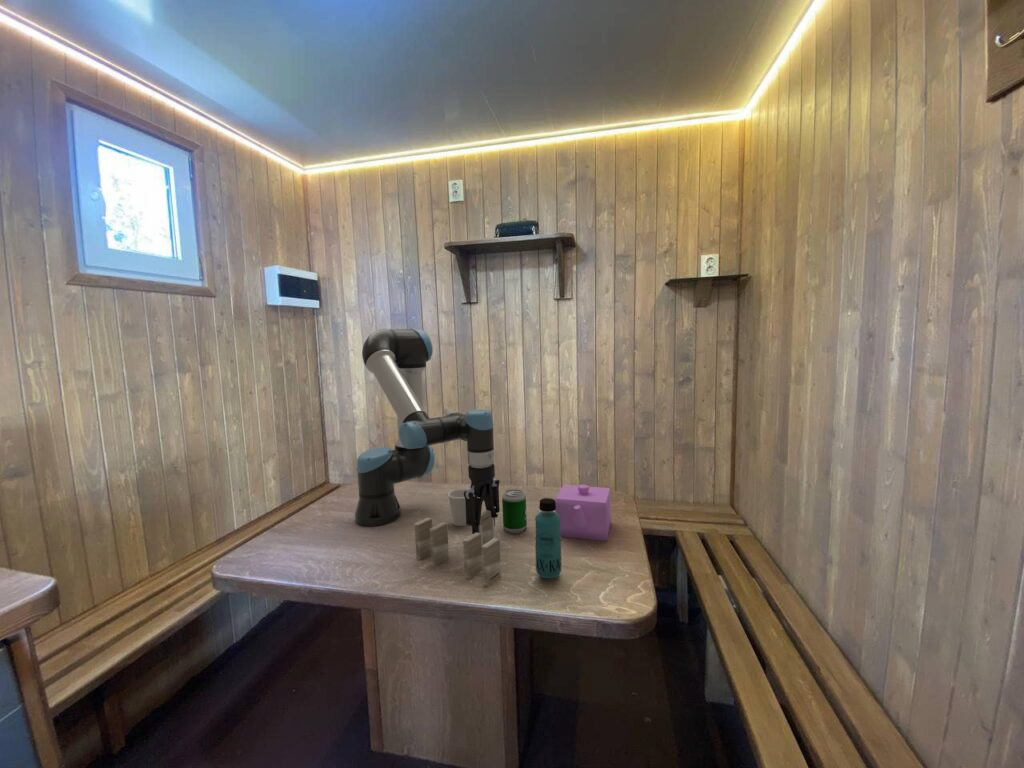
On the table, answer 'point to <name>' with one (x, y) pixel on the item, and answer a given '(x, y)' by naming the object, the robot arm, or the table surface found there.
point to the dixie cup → (458, 506)
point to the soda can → (514, 511)
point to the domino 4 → (486, 526)
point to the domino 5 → (491, 562)
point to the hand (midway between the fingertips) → (484, 542)
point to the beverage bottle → (548, 540)
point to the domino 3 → (472, 555)
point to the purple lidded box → (584, 512)
